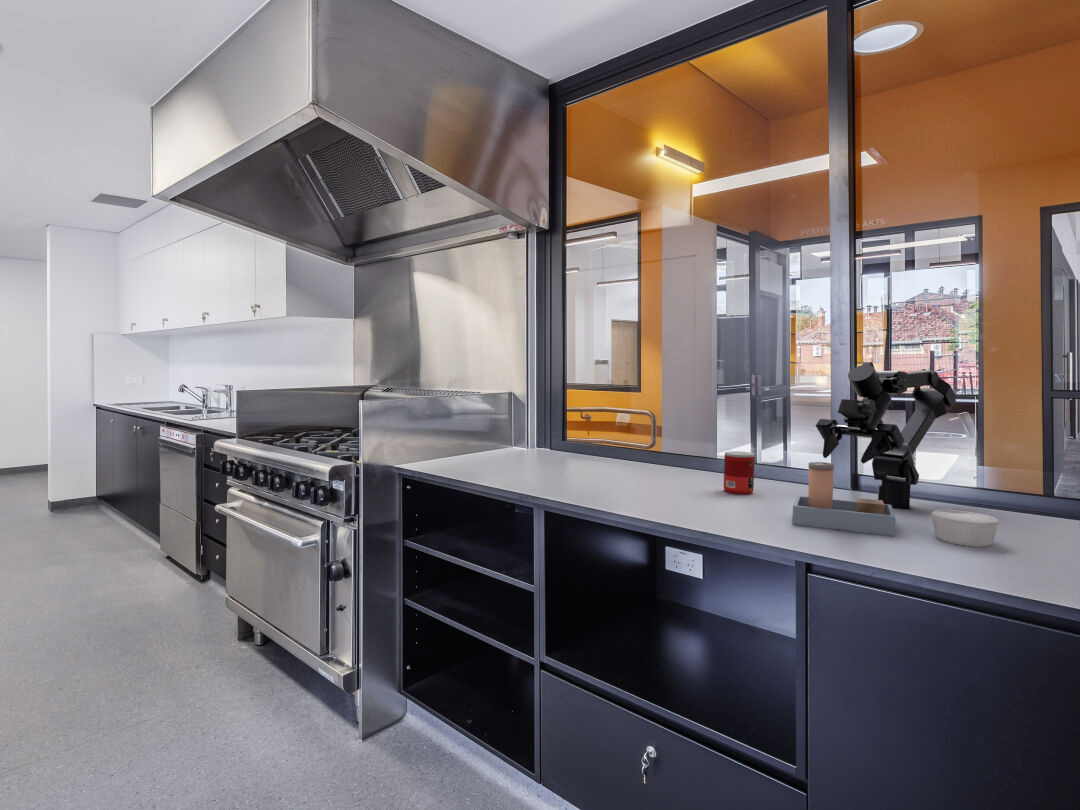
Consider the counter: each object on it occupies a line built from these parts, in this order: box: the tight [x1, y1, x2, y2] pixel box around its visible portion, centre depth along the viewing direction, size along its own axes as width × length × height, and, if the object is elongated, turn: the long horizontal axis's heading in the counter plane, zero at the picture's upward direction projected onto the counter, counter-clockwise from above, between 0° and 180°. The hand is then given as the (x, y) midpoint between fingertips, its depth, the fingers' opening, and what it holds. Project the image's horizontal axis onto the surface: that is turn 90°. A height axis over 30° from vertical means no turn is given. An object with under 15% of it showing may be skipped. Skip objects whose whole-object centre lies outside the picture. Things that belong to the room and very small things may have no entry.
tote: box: [791, 495, 897, 537], centre depth 133 cm, size 20×13×4 cm, turn 63°
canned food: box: [723, 450, 755, 495], centre depth 167 cm, size 8×8×11 cm
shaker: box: [807, 461, 835, 509], centre depth 134 cm, size 5×5×12 cm
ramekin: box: [931, 509, 1000, 548], centre depth 120 cm, size 11×11×5 cm
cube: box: [856, 497, 884, 515], centre depth 130 cm, size 5×5×5 cm
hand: (842, 459), depth 138 cm, fingers open, 9 cm apart
